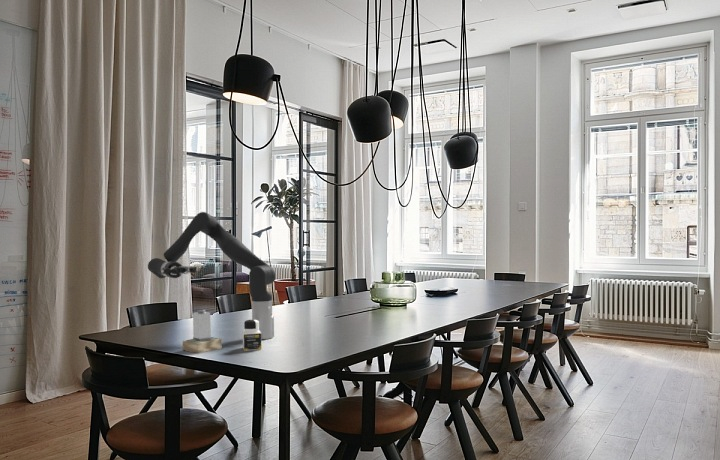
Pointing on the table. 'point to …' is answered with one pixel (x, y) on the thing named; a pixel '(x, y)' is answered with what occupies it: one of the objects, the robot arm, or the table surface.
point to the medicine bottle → (251, 335)
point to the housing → (201, 325)
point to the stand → (202, 345)
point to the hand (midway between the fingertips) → (185, 271)
